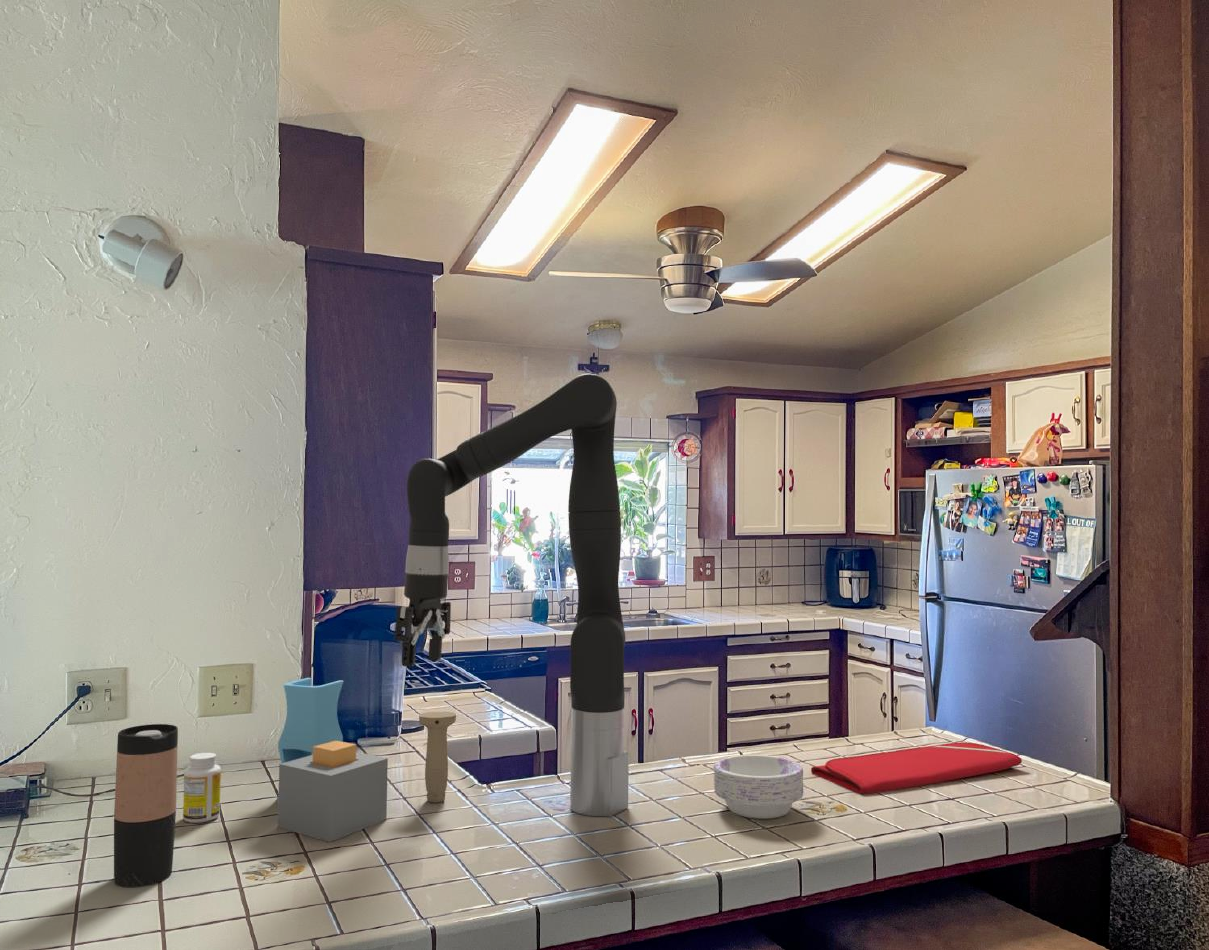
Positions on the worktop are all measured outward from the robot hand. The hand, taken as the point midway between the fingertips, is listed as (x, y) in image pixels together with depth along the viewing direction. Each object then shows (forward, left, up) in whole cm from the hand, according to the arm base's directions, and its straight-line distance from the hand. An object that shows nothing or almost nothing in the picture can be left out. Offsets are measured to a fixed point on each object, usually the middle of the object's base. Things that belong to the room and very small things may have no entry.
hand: (421, 662), depth 157 cm
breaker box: (+4, +16, -24) cm, 29 cm away
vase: (+19, +8, -24) cm, 32 cm away
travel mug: (+9, +45, -24) cm, 52 cm away
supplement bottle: (+24, +26, -24) cm, 43 cm away
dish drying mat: (-70, -68, -25) cm, 101 cm away
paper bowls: (-52, -28, -24) cm, 64 cm away
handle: (-2, -2, -24) cm, 25 cm away
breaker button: (+4, +16, -16) cm, 23 cm away
